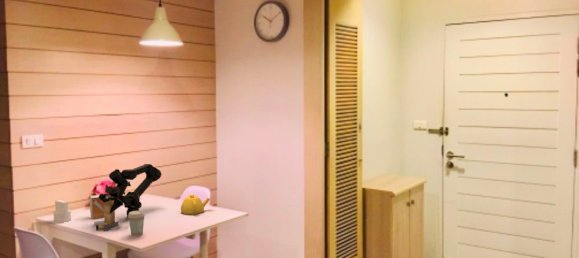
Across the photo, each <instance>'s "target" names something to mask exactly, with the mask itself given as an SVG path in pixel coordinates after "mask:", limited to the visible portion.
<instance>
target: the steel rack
mask: <svg viewBox="0 0 579 258" xmlns="http://www.w3.org/2000/svg"><path fill="white" fill-rule="evenodd" d="M119 226H120V224H119V221H118V220H116V221H115V222H114V223H112V224H107V226H104V227H103V231H102V232H107V231H108V230H112V229H114V228H116V227H119ZM98 227H99V225H96V226H95V231H99V230H98Z"/></svg>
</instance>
